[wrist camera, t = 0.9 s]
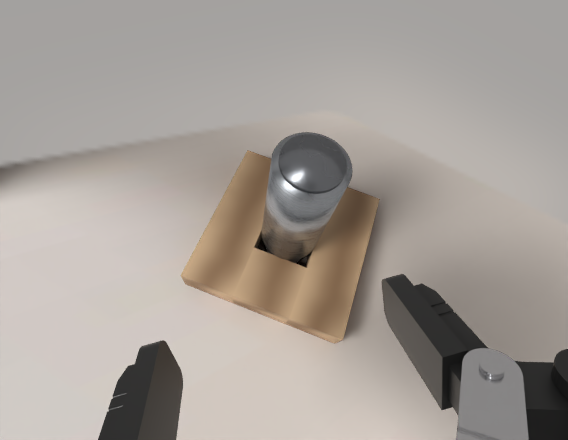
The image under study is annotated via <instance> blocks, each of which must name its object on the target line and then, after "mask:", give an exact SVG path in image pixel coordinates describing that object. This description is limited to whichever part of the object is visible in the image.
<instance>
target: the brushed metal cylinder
mask: <svg viewBox="0 0 568 440" xmlns="http://www.w3.org/2000/svg"><path fill="white" fill-rule="evenodd" d="M351 177H352V164H351V161H350V158H349V156H348V154H347V153H346V151H345V150H344V149H343V148H342V147H341V146H340V145H339V144H338V143H337V142H335V141H334V140H332V139H330V138H329V137H326V136H324V135H321V134H317V133H309V132H305V133H297V134H293V135H291V136H288V137H286V138H285V139H283V140H282V141H281V142H280V143H279V144H278V145H277V146H276V148H275V149H274V151H273V154H272V158H271V165H270V172H269V180H268V187H267V194H266V201H265V209H264V216H263V223H262V232H261V234H262V240H263V243H264V245H265V247H266V251H267V253H270V254H272V255H275V256H276V257H279V258H281V259H285V260H288V261H291V262H293V263H296V262H298V261H299V260H300V259H302V258H303V257H305V256H307V255H308V254H309V253H311V252H312V250H313V249H314V247H315V246H316V244H317V242H318V240H319V238H320V236H321V234H322V233H323V231H324V229H325V227H326V225H327V223H328V222H329V220H330V218H331V216H332V214H333V212H334V210H335V209H336V207H337V205H338V203H339V201H340V199H341V197H342V196H343V194H344V192H345V190H346V188H347V186H348V185H349V183H350V180H351Z"/></svg>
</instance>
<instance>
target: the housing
mask: <svg viewBox="0 0 568 440" xmlns="http://www.w3.org/2000/svg"><path fill="white" fill-rule="evenodd" d="M270 165H271V159H270V158H267V157H265V156H262V155H259V154H257V153H254V152H251V151H247V152H246V154H245V156H244V158H243V160H242V162H241V164H240V166H239V167H238V169H237V171H236V173H235V175H234V177H233V179H232V180H231V182H230V184H229V186H228V188H227V190H226V192H225V194H224V195H223V197H222V199H221V201H220V203H219V205H218V207H217V209H216V210H215V212H214V214H213V216H212V218H211V220H210V222H209V223H208V225H207V227H206V229H205V231H204V233H203V235H202V237H201V238H200V240H199V242H198V244H197V246H196V248H195V250H194V251H193V253H192V255H191V257H190V259H189V261H188V263H187V265H186V266H185V268H184V270H183V272H182V274H181V277H182V279H183V280H184V282H185V284H187V285H189V286H192V287H194V288H197V289H199V290H202V291H204V292H207V293H209V294H212V295H214V296H217V297H219V298H222V299H224V300H227V301H229V302H232V303H234V304H237V305H239V306H242V307H244V308H247V309H249V310H252V311H254V312H257V313H259V314H262V315H264V316H267V317H269V318H272V319H274V320H277V321H279V322H282V323H284V324H287V325H289V326H292V327H294V328H297V329H299V330H302V331H304V332H307V333H309V334H312V335H314V336H317V337H319V338H322V339H324V340H327V341H329V342H332V343H337V342H339V341H341V340H343V338H344V334H345V330H346V326H347V322H348V319H349V315H350V311H351V307H352V303H353V299H354V296H355V292H356V288H357V284H358V280H359V276H360V273H361V269H362V265H363V261H364V257H365V254H366V250H367V246H368V242H369V238H370V234H371V231H372V227H373V223H374V219H375V215H376V211H377V208H378V204H379V200H380V199H378V198H375V197H373V196H370V195H367V194H364V193H362V192H359V191H356V190H354V189H351V188H348V187H347V188H346V190H345V192H344V194H343V196H342V197H341V199H340V201H339V203H338V205H337V207H336V209H335V210H334V212H333V214H332V216H331V218H330V220H329V222H328V223H327V225H326V227H325V229H324V231H323V233H322V234H321V236H320V238H319V240H318V242H317V244H316V246H315V247H314V249H313V250H312V252H311V253H310V254H309V257H308V260H307V263H306V266H305V267H303V266H301V265H298V264H296V263H293V262H291V261H288V260H285V259H281V258H279V257H276V256H275V255H272V254H270V253H267V252H265V251H262V250H260V249H257V247H258V245H259V243H260V240H261V238H262V234H261V232H262V223H263V216H264V209H265V201H266V194H267V187H268V180H269V172H270Z"/></svg>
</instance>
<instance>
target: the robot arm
mask: <svg viewBox="0 0 568 440" xmlns="http://www.w3.org/2000/svg"><path fill="white" fill-rule="evenodd" d="M382 290H383V301H384V311H385V315H386V318H387V321H388V324H389V326H390V328H391V329H392V331H393V332H394V334H395V336H396V337H397V339H398V340H399V342H400V344H401V345H402V347H403V349H404V350H405V352H406V353H407V355H408V357H409V358H410V360H411V361H412V363H413V365H414V366H415V368H416V369H417V371H418V373H419V374H420V376H421V378H422V379H423V381H424V382H425V384H426V386H427V387H428V389H429V390H430V392H431V394H432V395H433V397H434V398H435V400H436V402H437V403H438V405H439V407H440V408H441V410H444V409H448V408H451V407H453V408H454V410H455V411H456V413H457V414H458V428H457V437H456V440H568V349H565V350H562V351H560V352H559V353H558V354H557V355H556V357H555V359H554V363H548V362H518V361H514V360H513V359H511V358H510V357H509V356H507V355H506V354H504V353H502V352H499V351H497V350H493V349H489V348H487V347H486V346H485V345H484V343H483V342H482V341H481V340H480V339H479V338H478V337H477V336H476V335H475V334H474V333H473V331H472V330H471V329H470V328H469V327H468V326H467V325H466V324H465V323H464V322H463V321H462V319H461V318H460V317H459V316H458V315H457V314H456V313H454V312H453V310H452V309H451V307H450V306H449V305H448V304H446V303H445V301H444V300H443V299H442V298H441V296H440V295H439V294H438V293H437V292H436V291H434V290H433V289H431V288H429V287H427V286H425V285H423V284H419V285H415V286H414V285H413V284H412V283H411V282H410V281H409V280H408V278H407V277H406V276H405V275H404V274H400V275H396V276H393V277H389V278H386V279H383V280H382ZM182 389H183V378H182V373H181V370H180V367H179V365H178V364H177V362H176V360H175V358H174V356H173V354H172V352H171V350H170V349H169V347H168V345H167V343H166V342H165V341H159V342H155V343H152V344H148V345H145V346H142V347H141V348H140V349H139V352H138V356H137V359H136V362H135V364H134V365H130V366H128V367H127V368H126V370H125V371H124V373H123V374H122V376H121V377H120V378H119V380H118V382H117V385H116V388H115V391H114V394H113V399H112V400H111V403H110V405H109V408H108V409H109V412H107V414H106V417H105V420H104V423H103V426H102V429H101V432H100V435H99V438H98V440H176V436H177V428H178V420H179V413H180V405H181V397H182Z"/></svg>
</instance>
